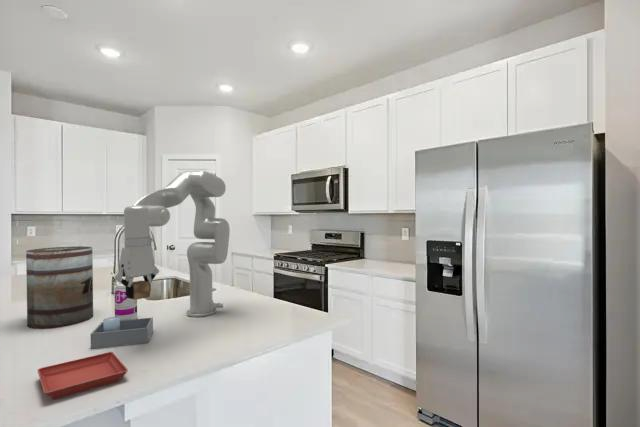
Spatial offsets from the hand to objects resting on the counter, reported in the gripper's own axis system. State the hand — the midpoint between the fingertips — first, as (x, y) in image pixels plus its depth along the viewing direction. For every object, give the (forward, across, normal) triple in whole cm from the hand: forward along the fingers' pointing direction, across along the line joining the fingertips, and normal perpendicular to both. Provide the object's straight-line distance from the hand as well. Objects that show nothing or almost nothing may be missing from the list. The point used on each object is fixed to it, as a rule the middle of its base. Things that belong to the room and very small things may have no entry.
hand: (138, 295), depth 121 cm
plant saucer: (+17, +22, +12) cm, 30 cm away
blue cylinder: (+16, +3, -13) cm, 21 cm away
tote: (+17, 0, -10) cm, 20 cm away
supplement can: (+17, -12, -32) cm, 39 cm away
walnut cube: (+1, 0, 0) cm, 1 cm away
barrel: (+17, +3, -56) cm, 58 cm away
